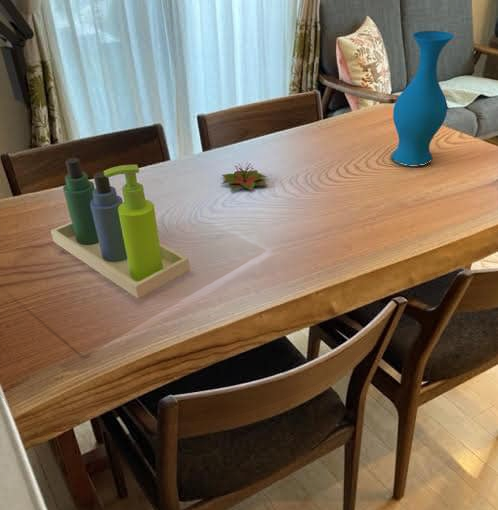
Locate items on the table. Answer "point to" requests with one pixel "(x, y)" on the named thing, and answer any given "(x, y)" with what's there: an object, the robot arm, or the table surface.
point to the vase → (421, 103)
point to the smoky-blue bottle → (108, 219)
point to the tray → (122, 263)
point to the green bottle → (80, 202)
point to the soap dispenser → (138, 225)
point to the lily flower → (244, 179)
